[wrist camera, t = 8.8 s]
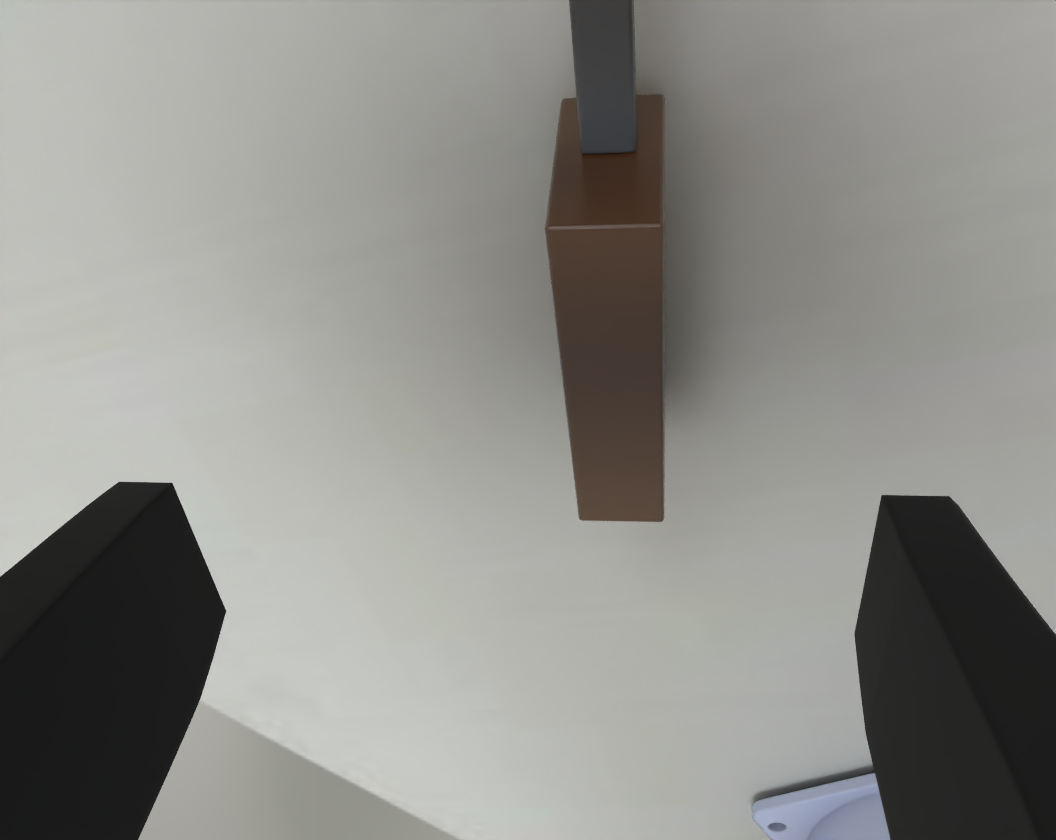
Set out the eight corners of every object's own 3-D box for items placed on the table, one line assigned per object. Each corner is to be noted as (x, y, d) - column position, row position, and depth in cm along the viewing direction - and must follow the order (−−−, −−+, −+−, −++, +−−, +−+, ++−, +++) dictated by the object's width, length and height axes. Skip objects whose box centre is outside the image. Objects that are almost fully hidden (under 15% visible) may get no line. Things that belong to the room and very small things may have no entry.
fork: (718, 395, 20) (724, 524, 18) (536, 395, 21) (521, 520, 18) (780, -578, 9) (811, -533, 7) (397, -525, 10) (325, -469, 8)
